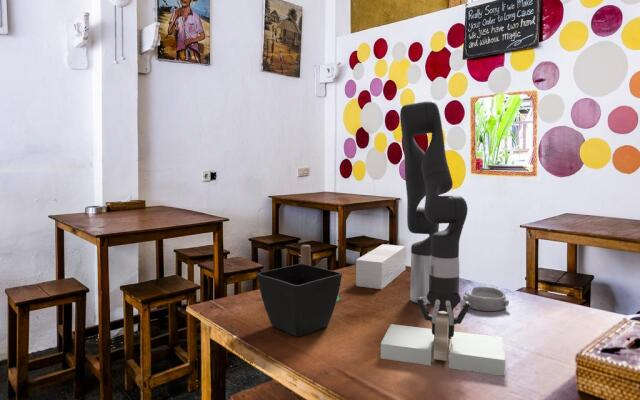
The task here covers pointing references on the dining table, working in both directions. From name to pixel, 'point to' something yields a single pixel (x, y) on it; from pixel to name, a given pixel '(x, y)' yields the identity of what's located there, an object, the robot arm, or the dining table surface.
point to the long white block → (380, 266)
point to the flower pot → (299, 297)
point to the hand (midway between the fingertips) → (442, 336)
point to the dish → (486, 299)
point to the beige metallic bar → (441, 336)
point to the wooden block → (307, 257)
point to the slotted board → (464, 350)
